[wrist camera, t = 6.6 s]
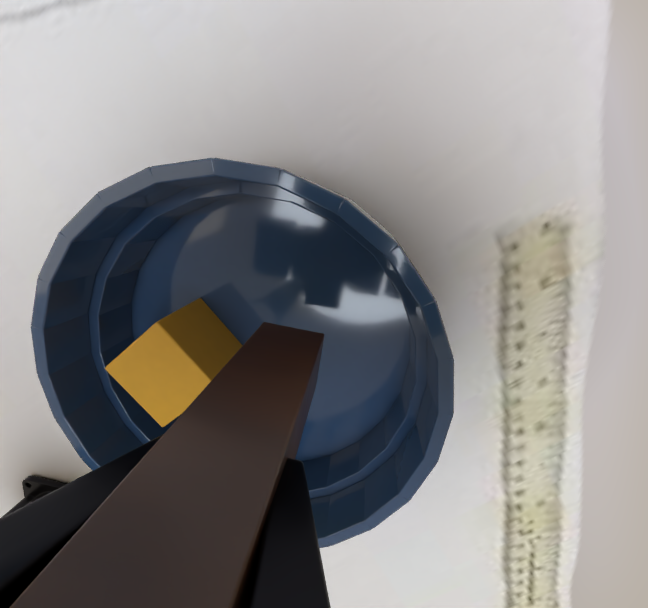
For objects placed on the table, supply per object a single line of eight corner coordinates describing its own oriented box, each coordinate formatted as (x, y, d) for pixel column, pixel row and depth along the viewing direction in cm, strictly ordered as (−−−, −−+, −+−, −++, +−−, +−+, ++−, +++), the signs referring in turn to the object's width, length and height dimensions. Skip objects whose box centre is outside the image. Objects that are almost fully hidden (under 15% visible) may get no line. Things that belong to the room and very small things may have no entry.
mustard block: (201, 385, 20) (162, 428, 16) (155, 336, 19) (103, 368, 15) (248, 350, 19) (217, 388, 15) (200, 296, 18) (156, 321, 14)
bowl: (126, 434, 23) (53, 504, 17) (115, 148, 17) (2, 123, 12) (388, 495, 21) (395, 590, 16) (470, 205, 16) (522, 206, 10)
